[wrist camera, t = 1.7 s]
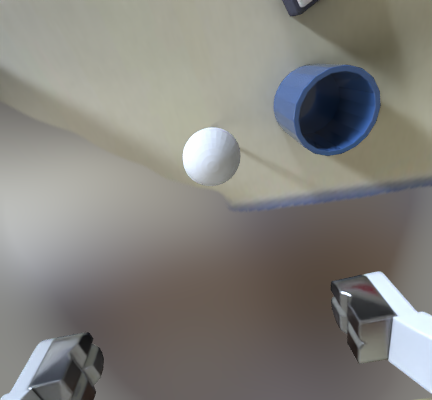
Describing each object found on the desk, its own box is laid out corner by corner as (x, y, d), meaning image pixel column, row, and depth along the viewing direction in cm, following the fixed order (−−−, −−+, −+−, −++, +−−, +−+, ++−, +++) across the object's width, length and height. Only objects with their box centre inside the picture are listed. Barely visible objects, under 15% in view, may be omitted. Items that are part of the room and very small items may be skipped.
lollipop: (200, 99, 37) (202, 122, 24) (236, 122, 39) (257, 154, 26) (178, 139, 40) (170, 179, 26) (213, 158, 41) (222, 205, 28)
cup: (269, 137, 40) (288, 155, 32) (278, 62, 36) (301, 63, 28) (333, 137, 41) (366, 156, 33) (349, 64, 37) (391, 65, 29)
